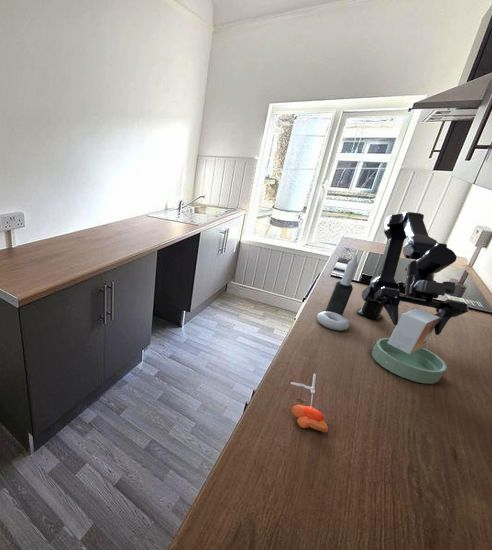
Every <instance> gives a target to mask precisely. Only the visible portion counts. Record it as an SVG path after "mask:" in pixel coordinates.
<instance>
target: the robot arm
mask: <svg viewBox="0 0 492 550" xmlns="http://www.w3.org/2000/svg"><path fill="white" fill-rule="evenodd" d="M424 218H425V215H424V214H423V213H421V212H413V211H405V212H402V213H396V214H391V215H389V216H387V217H386V219H385V220H384V223H383V226H384V230H383V233H384V235H385V237H386V239H387V240H386V244H385V248H384V251H383V255H382V259H381V263H380V266H379V269H378V273H377V276H376V277H375V278H374V279H373V280H371V281H370V282H369V285H368V286H367V287H366V288H364V289H363V290H362V292H361V296H360V297H361V298H362V300H363V301H364V303H363V305H362V308H360V309H359V310H358V311H357V314H358V315H361V316H362V317H363V316H364V317H366V318H368V319H372V320H374V321H379V320H380V319H381V318H382V316H383V314H381V313H382V311H383V309H385V311H386V313H387V314H388V316H389V319H390V320H391V323H392V324H393V326H396V325H397V324H398V321H399V306H400V302H402V303H408V304H413V305H419V306H423V307H427V308H432V309H435V312H436V313H435V314H434V315H436V316H438V317H440V319H439V321H438V323H437V324H436V326H435V328H434V334H435V335H436V336H439V335H440V334H441V333H442V331H443V330H444V328H445V327H446V325H447V323H448V322H449V320H450V319H451V318H456V317H458V316H461V315H463V314H466V313H468V312H469V305H468V304H467V303H466V302H465V301H461V300H455V299H450V298H447V299H445V300H443V301H437V299H438V298H439V296H443V297H444V296H445V295H454V294H455V292H456V289H457V288H456V287H457V286H456V282H453V281H448V280H447V281H442V282H438V281H437V280H434V278H435V274H437V273H441V271H443V270H445V269H446V268H448V267H449V266H451V265H452V264H454V263H455V262H456V260H457V258H458V257H457V254H456V253H455V252H454V250H452V249H451V248H449V247H448V244H447V243H441V242H438V241H437V240H436V239H434V238H433V237H430V236H429V233H428V230H427V228H426V224H425V221H424ZM405 240H406V243H405ZM404 243H405V245H404ZM401 254H403V256H404V258H405V259H408V260H412V261H410V262H409V263H407V265H406V267H405V268H404V271H406V276H405V283H404V284H403V288H404V289H405V290H404V294H401V291H400V289H399V287H400V285H399V283H398V282H396V280H395V276H396V273H397V269H398V265H399V262H400V258H401ZM434 299H435V300H434Z"/></svg>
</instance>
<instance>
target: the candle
mask: <svg viewBox="0 0 492 550" xmlns="http://www.w3.org/2000/svg"><path fill="white" fill-rule="evenodd" d="M358 266H359V263H358V254H357V253H356V254H354V256H353V257H352V259H351V260H349V261H348V262H347V264H346V267H345V269H344V272H343V275H342V276H341V279H340V281H337V282H335V285H334V287H333V290H332V292H331V296H330V298H329V301H328V303H327V306H326V309H325V311H327V312H334V313H337V314H340V315H342V316H344V312H345V310H346V308H347V305H348V302H349V300H350V298H351V295H352V292H353V289H354V288H353V284H351V283H352V281H353V277H354V276H355V273H356V271H357V269H358Z"/></svg>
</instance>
